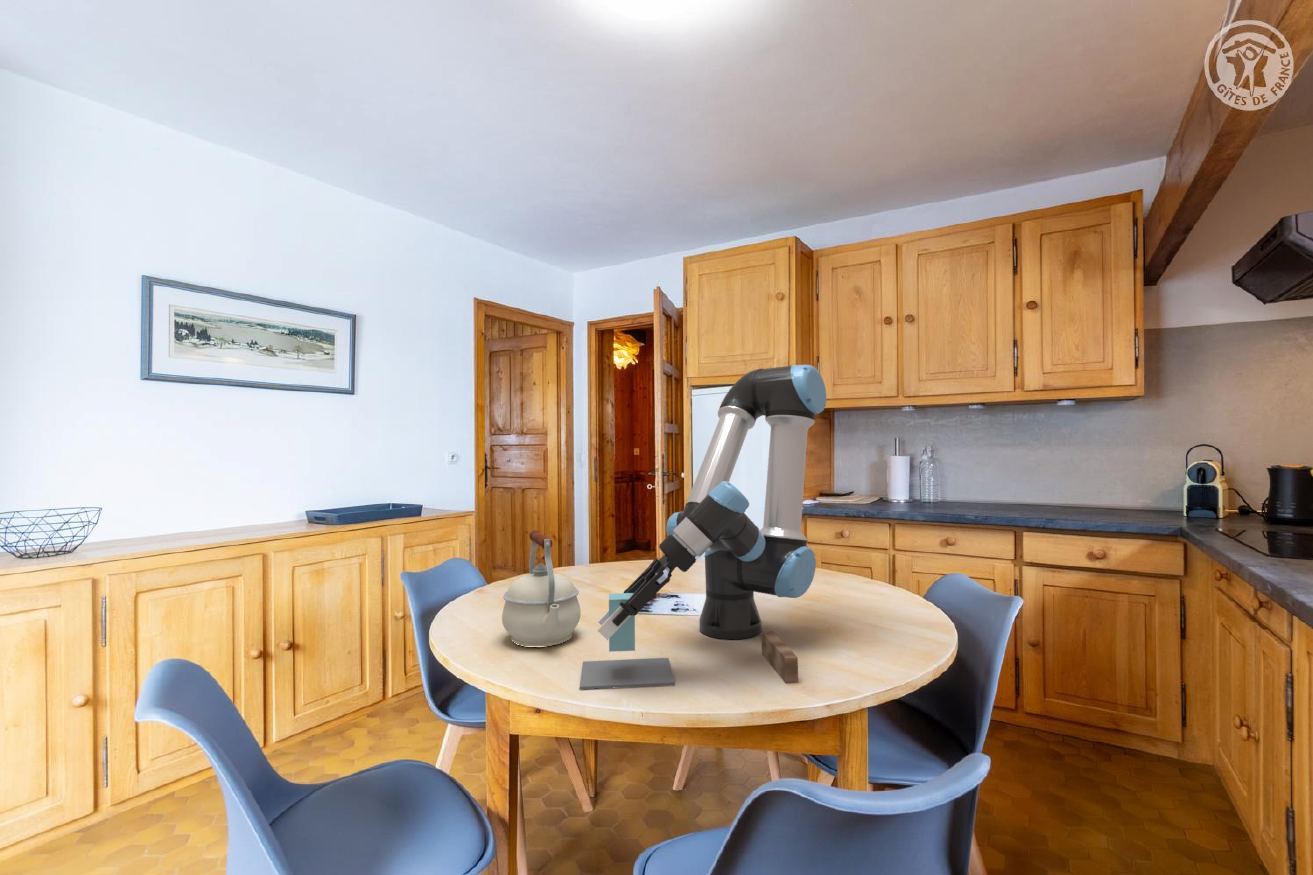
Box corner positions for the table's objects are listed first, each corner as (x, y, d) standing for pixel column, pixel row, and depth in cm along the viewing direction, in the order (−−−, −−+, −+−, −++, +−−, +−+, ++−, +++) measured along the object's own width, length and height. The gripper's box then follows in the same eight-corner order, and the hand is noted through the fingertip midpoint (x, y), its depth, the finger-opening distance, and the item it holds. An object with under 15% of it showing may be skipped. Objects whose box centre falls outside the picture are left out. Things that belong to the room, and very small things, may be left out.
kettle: (496, 630, 149) (494, 530, 149) (567, 620, 156) (566, 525, 156) (513, 664, 126) (511, 546, 126) (597, 651, 133) (595, 539, 133)
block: (609, 643, 121) (608, 593, 121) (634, 642, 121) (633, 592, 121) (609, 651, 116) (608, 599, 116) (634, 650, 116) (634, 599, 116)
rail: (762, 654, 130) (761, 631, 130) (772, 654, 130) (772, 631, 130) (785, 684, 114) (785, 658, 114) (798, 683, 114) (797, 657, 114)
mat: (582, 664, 125) (582, 661, 125) (668, 660, 127) (668, 657, 127) (579, 689, 112) (579, 686, 112) (674, 685, 114) (674, 682, 114)
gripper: (704, 567, 111) (616, 659, 109) (691, 551, 129) (615, 629, 127) (676, 539, 111) (587, 631, 109) (667, 526, 129) (590, 605, 127)
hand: (602, 630), depth 118 cm, fingers closed on block, 5 cm apart
